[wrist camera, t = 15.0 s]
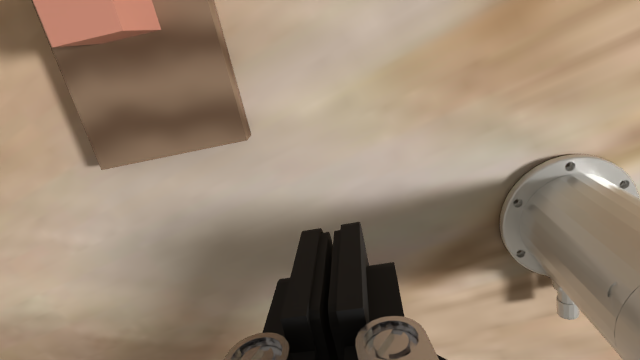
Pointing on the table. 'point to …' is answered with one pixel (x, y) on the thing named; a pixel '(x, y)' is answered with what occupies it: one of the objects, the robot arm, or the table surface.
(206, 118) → the base board
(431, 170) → the table surface
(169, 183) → the table surface
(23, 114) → the table surface
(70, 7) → the salmon toy brick
